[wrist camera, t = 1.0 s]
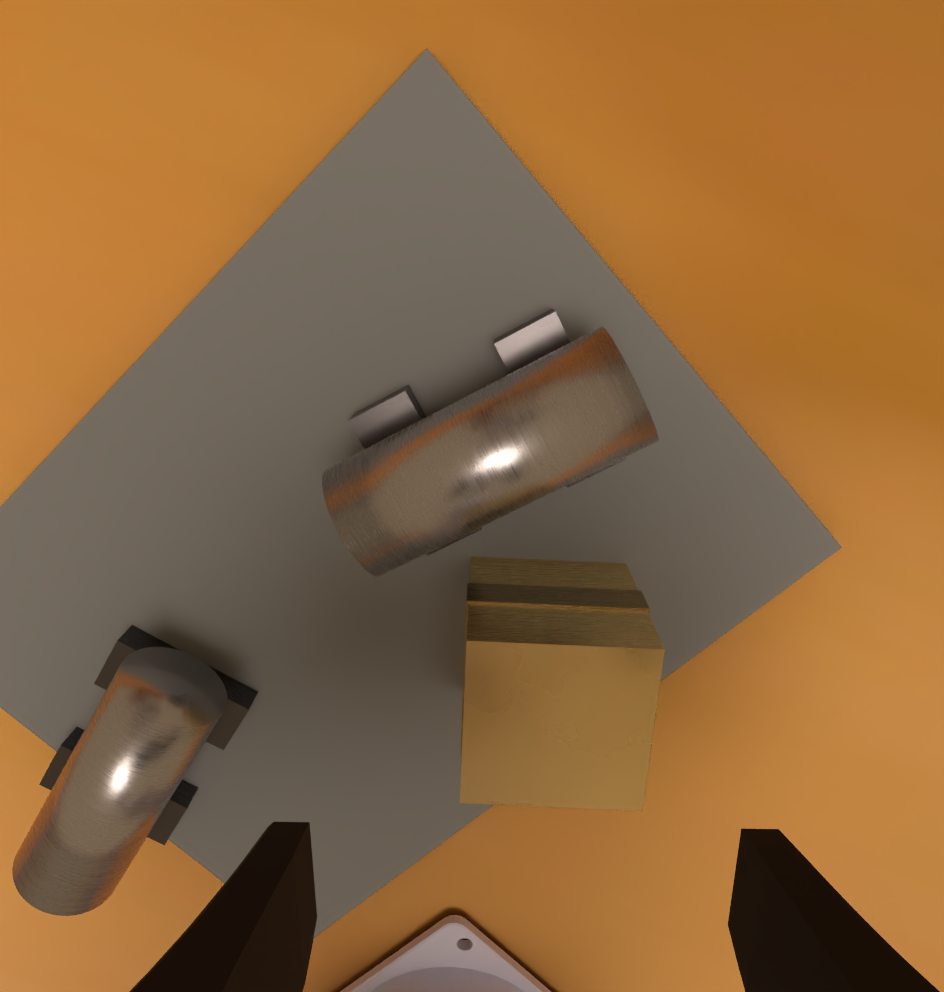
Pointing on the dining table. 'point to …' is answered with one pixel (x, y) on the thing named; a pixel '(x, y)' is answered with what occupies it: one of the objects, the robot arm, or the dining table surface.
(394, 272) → the mat
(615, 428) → the shaft
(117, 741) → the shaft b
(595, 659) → the tan rectangular block
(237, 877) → the robot arm
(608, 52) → the dining table surface
